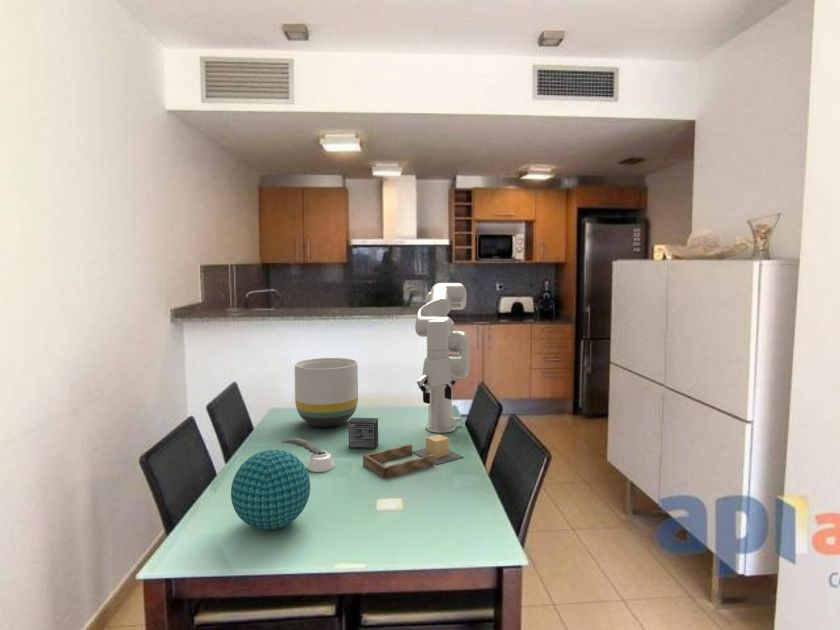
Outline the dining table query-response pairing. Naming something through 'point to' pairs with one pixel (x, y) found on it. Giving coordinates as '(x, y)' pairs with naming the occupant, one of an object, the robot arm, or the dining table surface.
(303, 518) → the dining table surface
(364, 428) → the small box
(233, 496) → the decorative ball
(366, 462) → the walnut cubby
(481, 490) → the dining table surface
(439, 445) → the ochre cube
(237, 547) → the dining table surface
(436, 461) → the charcoal mat
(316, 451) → the inkwell
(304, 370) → the planter
